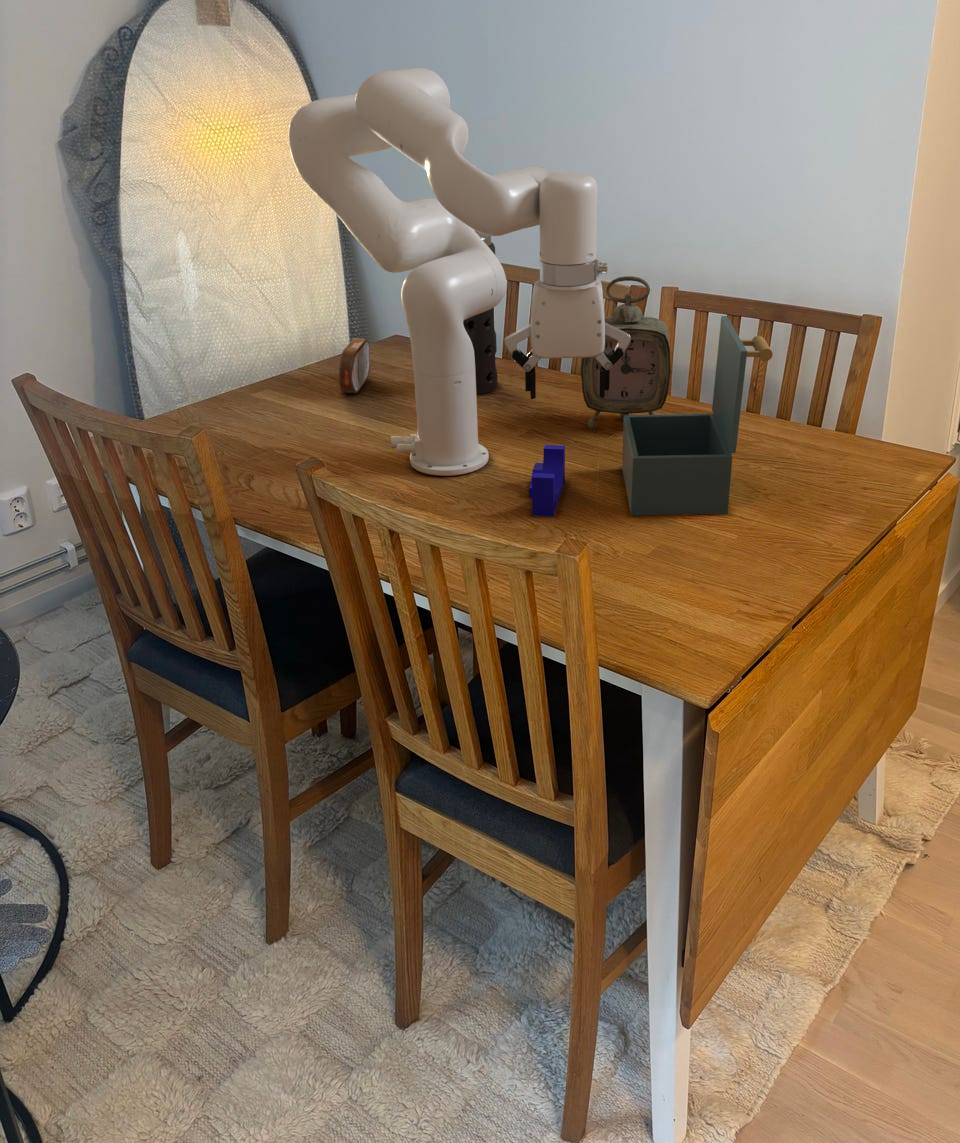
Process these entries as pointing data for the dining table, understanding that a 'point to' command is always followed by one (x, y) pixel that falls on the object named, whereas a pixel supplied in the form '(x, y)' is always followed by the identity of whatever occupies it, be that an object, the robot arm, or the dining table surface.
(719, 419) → the lid
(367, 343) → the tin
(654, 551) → the dining table surface
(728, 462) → the chest
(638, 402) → the tabletop clock
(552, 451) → the blue stepped block
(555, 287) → the robot arm
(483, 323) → the muzzle brake
